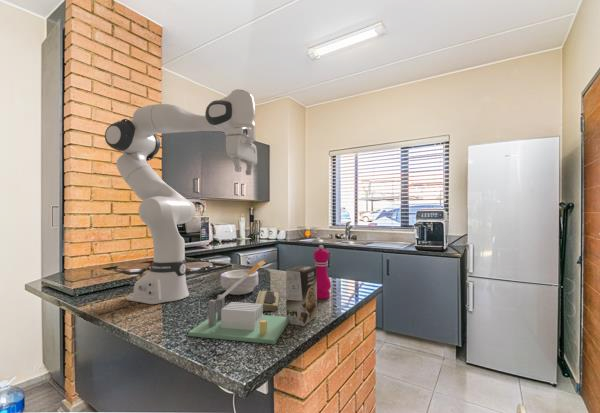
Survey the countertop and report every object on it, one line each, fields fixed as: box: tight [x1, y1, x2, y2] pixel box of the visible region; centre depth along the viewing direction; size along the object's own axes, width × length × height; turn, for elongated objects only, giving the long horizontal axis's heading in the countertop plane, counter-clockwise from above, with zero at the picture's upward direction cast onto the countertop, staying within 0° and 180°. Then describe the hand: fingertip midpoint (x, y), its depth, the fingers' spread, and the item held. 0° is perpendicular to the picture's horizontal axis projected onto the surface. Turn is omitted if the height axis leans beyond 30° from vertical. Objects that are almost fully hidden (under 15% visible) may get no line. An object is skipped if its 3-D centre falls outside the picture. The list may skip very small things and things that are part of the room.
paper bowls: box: [220, 269, 259, 296], centre depth 119 cm, size 15×15×8 cm
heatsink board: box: [187, 294, 290, 345], centre depth 82 cm, size 24×16×8 cm, turn 78°
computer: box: [254, 290, 280, 312], centre depth 104 cm, size 16×8×3 cm, turn 3°
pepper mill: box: [313, 244, 332, 300], centre depth 112 cm, size 7×7×20 cm
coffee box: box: [285, 265, 318, 327], centre depth 89 cm, size 9×6×16 cm
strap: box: [215, 260, 266, 305], centre depth 83 cm, size 19×5×1 cm
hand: (243, 173), depth 105 cm, fingers open, 8 cm apart
